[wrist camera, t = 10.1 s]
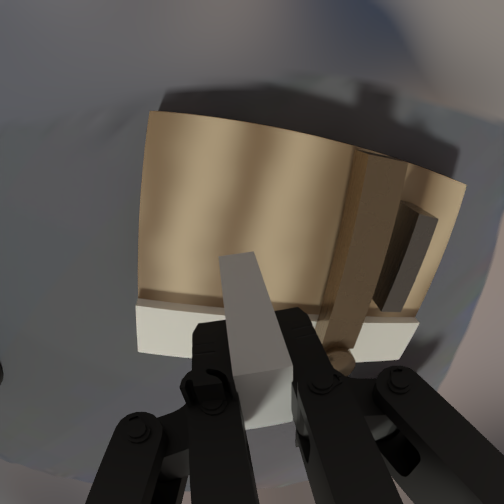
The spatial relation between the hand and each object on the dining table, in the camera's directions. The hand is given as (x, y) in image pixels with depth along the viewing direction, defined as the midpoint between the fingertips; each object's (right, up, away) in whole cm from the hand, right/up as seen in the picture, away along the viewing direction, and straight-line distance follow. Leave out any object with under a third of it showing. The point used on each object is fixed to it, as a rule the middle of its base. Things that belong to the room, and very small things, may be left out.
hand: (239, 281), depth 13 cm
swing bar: (+8, 0, +9) cm, 12 cm away
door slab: (+5, +4, +12) cm, 13 cm away
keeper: (+12, +2, +10) cm, 16 cm away
